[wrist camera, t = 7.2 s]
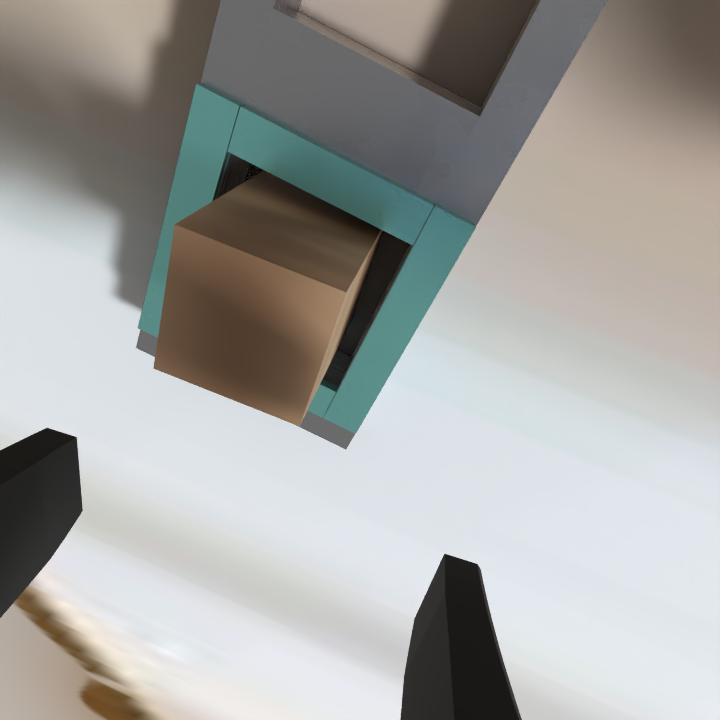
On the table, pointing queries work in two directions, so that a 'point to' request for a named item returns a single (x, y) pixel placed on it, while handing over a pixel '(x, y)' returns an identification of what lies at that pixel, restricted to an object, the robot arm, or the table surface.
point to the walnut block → (262, 294)
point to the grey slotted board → (360, 158)
